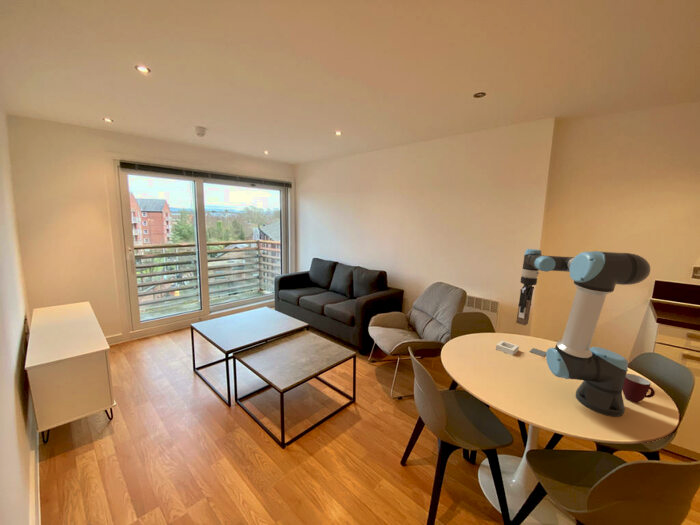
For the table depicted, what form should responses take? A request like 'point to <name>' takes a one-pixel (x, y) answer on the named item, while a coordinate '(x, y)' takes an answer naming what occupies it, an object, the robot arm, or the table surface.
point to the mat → (538, 352)
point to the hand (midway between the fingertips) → (523, 316)
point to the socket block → (507, 347)
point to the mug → (636, 388)
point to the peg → (527, 312)
